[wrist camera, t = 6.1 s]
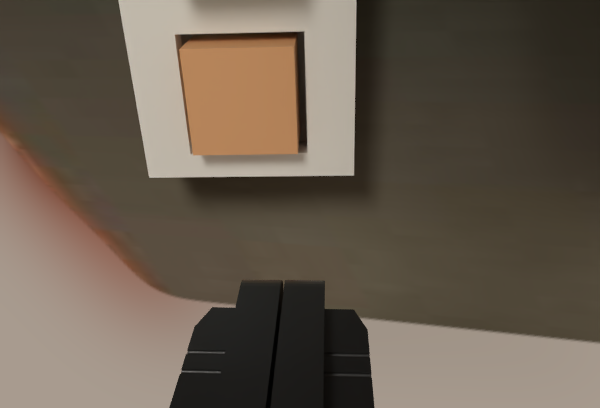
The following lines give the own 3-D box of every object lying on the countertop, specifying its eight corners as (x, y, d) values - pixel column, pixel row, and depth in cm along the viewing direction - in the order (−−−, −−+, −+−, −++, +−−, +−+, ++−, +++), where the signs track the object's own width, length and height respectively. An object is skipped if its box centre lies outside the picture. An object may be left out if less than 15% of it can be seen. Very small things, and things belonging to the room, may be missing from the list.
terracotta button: (194, 34, 26) (179, 49, 23) (297, 32, 26) (293, 46, 23) (205, 132, 28) (193, 155, 26) (300, 130, 28) (297, 154, 25)
